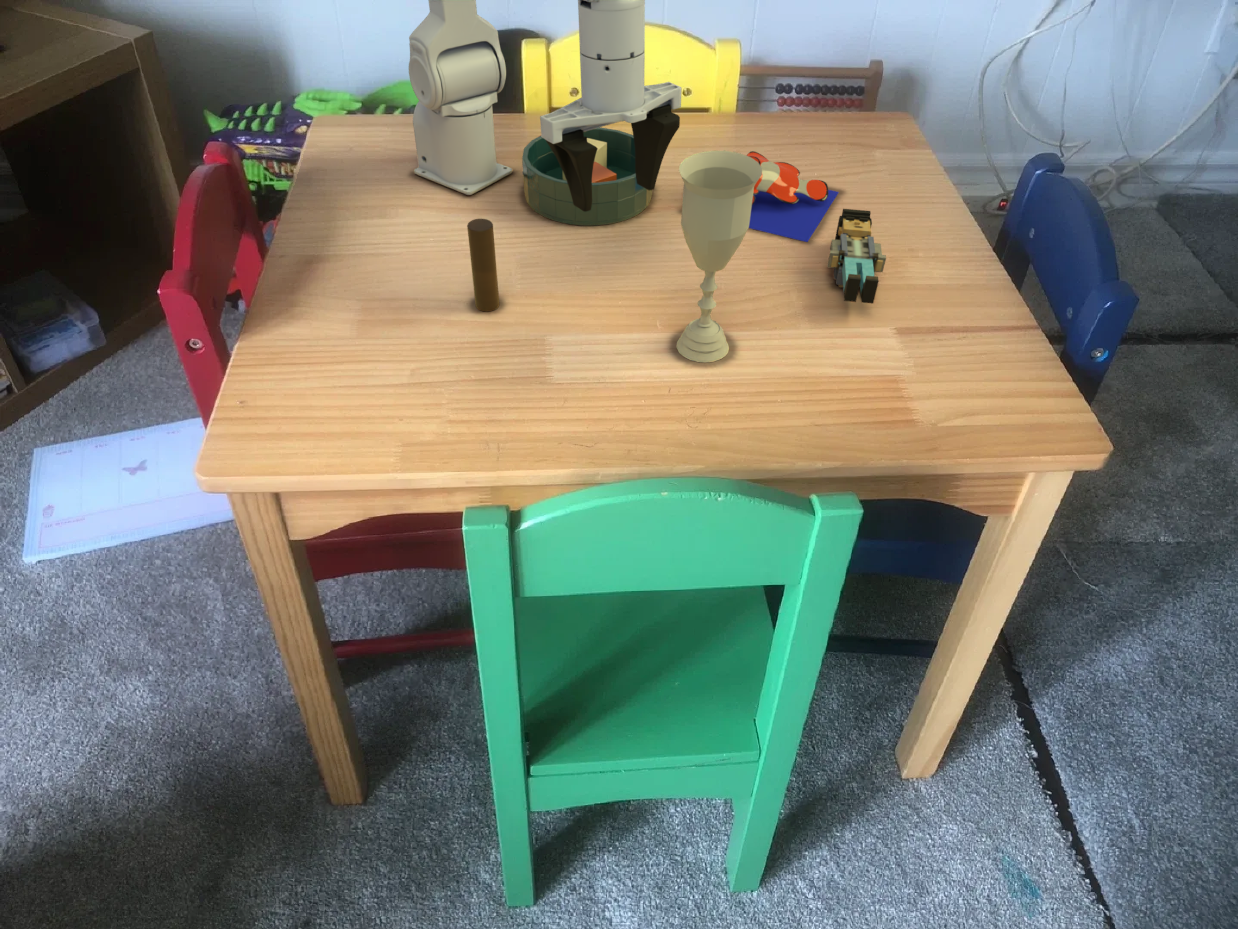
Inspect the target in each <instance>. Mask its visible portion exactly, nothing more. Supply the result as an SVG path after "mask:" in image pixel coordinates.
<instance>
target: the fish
mask: <svg viewBox="0 0 1238 929" xmlns="http://www.w3.org/2000/svg"><path fill="white" fill-rule="evenodd" d="M745 155H746V156H749V157H751V158H752V159H754V160H755V161H757V162H758V163H759V165H760V166H761V168H762V175H761V177H760V178H759V180H758V181H757V183H756V184H755V186H754V191H753V195H758V194H759V193H765V194H769V195H771V196H773V197H774V198H776V199H777V200H779V201H780V202H782V203H784V204H788V205H795V204H797V203H798V202H799V200H800V199H799V197H798V196H797V195H795V194H802V195H804V196H806V197H808V198H810V199H812V200H814V201H817V202H825V201H826V200H827V199H828V197H829V190H830V189H829V185H828V183H827V182H825V181H824V180H821V179H801V178H799V176H800V174H801V172H800V170H799V168H797V167H796V166H795V165H792V164H791V163H789V162H785V161H771V160H769V159H768V158H767V157H765V156H764V155H762V154H761V153H759V152H758V151H754V150H752V151H751V150H750V151H749V152H748V153H747V154H745ZM755 202H756V197H755V196H753V199H752V205H754V204H755Z"/></svg>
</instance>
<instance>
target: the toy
mask: <svg viewBox="0 0 1238 929" xmlns="http://www.w3.org/2000/svg"><path fill="white" fill-rule="evenodd" d="M872 226H873V221H872V218H871V210H865V209H864V210H862V209H851V208H843V209H842V212H841V215H839V217H838V222H837V228H836V231H835V237H834V238H832V239H831V242H830V248H829V256H828V261H827V268H831V269H833V280H835V282H836V283H835V284H836V286H837V285H838V288H842V289H843V290H842V292H843V301H844V302H854V303H856V302H857V298H858V294H859V293H860V302H861V303H865V304H874V302H875V298H876V293H877V289H878V286H879V276H875V274H876V273H884V269H885V264H886V260H887V255H886V254H883V250H882V243H880V242H879V243H878V242H875V237H874V236H872ZM859 290H860V292H859Z"/></svg>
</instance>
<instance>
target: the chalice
mask: <svg viewBox="0 0 1238 929" xmlns="http://www.w3.org/2000/svg"><path fill="white" fill-rule="evenodd" d="M746 155H747V154H743V153H741V152H735V151H730V150H707V151H700V152H697V153H694V154H691V155H690V156H687V157H686V158H684V159H683V160H682V161H681V163H679V167H678V173H679V174H680V177H681V179H682V182H683V191H682V204H681V218H680V220H681V221H680V225H681V228H682V232H683V236H684V239H685V243H686V245H687V247H688V250H689V252H690V255H691V256H692V258H693V261H694V263H695V266H696V267H697V268H698V269H699V270H701V271H703V272H704V277H703V281H702V282H701V283H700V285H699V288H700V289H701V291H702V297H701V298H700V299H699V300H698V301H697V307H699V308H700V317H699V318H696V319H693V320H691V321H690V322H689V323H688V324H686V326H685V328H684V330H683V331H682V333H681V334H680V337H679V338H678V340H677V341H676V349H677V351H678V353H679V354H680V355H681V356H682V357H683V358H685V359H688V360H690V361H692V362H697V363H714V362H716V361H720V360H722V359H723V358H724V357H726V356H727V355H728V353H729V351H730V350H729V349H730V346H729V343H728V342H727V337H726V335H725V333H724V332H725V331H724V329H723V327H722V326H721V325H720V324H719V322H717V321H716V320H713V318H712V316H711V314H712V312H713V309H715V308H716V307H717V302H716V301H715V300H714V293H715V291H716V290H717V289H718V284H717V283H716V277H715V275H716V273H717V272H720V271H722V270H724V269H725V268H726V267H727V265H728V264H729V263H730V261H731V259H732V258H733V256H734V255H735V253H736V251H738V249H739V248H740V246H741V244H742V242H743V240H744V239H745V238H744V237H745V236H746V234H747V232H748V230H749V229H750V228H749V222H750V215H751V207H752V199H753V191H754V186H755V184H756V183H757V181H758V180H759V178H760V177H761V175H762V168H761V166H760V165H759V163H758V162H757V161H755V160H754V159H752V158H751V157H749V156H746Z"/></svg>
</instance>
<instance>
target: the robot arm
mask: <svg viewBox="0 0 1238 929" xmlns="http://www.w3.org/2000/svg"><path fill="white" fill-rule="evenodd" d="M477 8H478V6H477V0H428V9H429V13H428V14H427V15H426V17H425V18H424V19H423V20H422V21H421V22H420V23H419V24H418V25H417V27H416V28H415V29H414V30H413V31H412V32H411V33H410V35H409V37H408V40H409V43H408V44H409V62H408V76H409V81H410V82H409V83H410V84H411V88H412V91H413V93H414V96H415V97H416V98H417V100H418V101H417V103H416V105H415V107H414V110H413V115H412V128H413V134H414V142H415V149H416V150H415V151H416V155H417V156H416V157H417V164H418V167H415V168H414V170H413V173H414V174H415V175H417V176H420V177H421V178H425V179H426V180H429V181H432V182H433V183H437V184H439V185H442V186H443V187H447V188H449V189H452V190H453V191H457V192H459V193H462V194H464V195H467V196H471V195H473V194H475V193H477V192H479V191H481V190H483V189H485V188H487V187H489V186H491V185H492V184H494V183H496V182H498V181H500V180H501V179H504V178H506V177H507V176H509V175H511V174H512V173H513V168H512V167H510V166H507V165H504V164H501V163H498V161H497V150H496V138H495V135H496V134H495V125H494V112H493V109H494V108H493V104H496V103H498V94H499V93H501V92H502V91H503V89H504V87H505V83H506V78H507V67H506V66H507V65H506V62H505V57H504V54H503V52H502V49H501V45H500V38H499V32H498V30H497V28H496V27H495V26H494V25H493V24H492V23H490V21H488V20H487V19H485V18H484V17H482V16H480V15H479V14H478V9H477ZM577 12H578V13H577V14H578V41H579V64H580V66H579V67H580V92H581V93H580V94H581V97H580V98H578V99H575V100H574V101H572V102H570V103H568V104H566V105H564V106H561V107H559V108H558V109H556V110H554V111H552V112H550V113H545V114H543V115H540V116H539V120H540V136H541V137H542V138H544V139H545V140H546V142H547V143H548V145H549V146H550V148H551V149H552V151H553V153H554V154H555V156H556V158H557V160H558V162H559V164H560V166H561V168H562V170H563V172H564V175H565V178H566V180H567V183H568V186H569V189H570V193H571V196H572V200H573V204H574V205H575V206H576V207H578V208H579V209H581V210H582V211H584V212H586V211H589V210H591V206H592V172H593V165H594V160H595V156H596V152H597V149H598V148H597V147H596V146H594V145H592V144H590V143H588V142H587V137H584V132H585V131H589V130H592V129H596V128H599V127H601V128H604V127H606V126H609V125H610V126H611V125H614V124H617V123H621V122H622V123H623V122H625V123H628V124H630V126H631V131H632V135H633V137H634V145H635V173H636V180H637V184H638V185H640V186H642V187H644V188H645V189H647V190H649V191H650V190H652V191H653V190H655V187H656V184H657V181H658V176H659V173H660V169H661V167H662V166H661V165H662V162H663V160H664V157H665V155H666V152H667V149H668V147H669V145H670V144H671V141H672V140H673V138H674V136H675V134H676V133H677V131H678V130H679V129H680V126H681V125H680V124H681V118H680V115H678V114H676V113H674V112H672V111H673V110H677V109H681V108H682V86H680V85H677V84H675V83H672V81H671V82H670V81H666V82H662V83H656V84H648V85H645V67H646V66H645V64H646V63H645V60H646V58H645V57H646V56H645V54H646V53H645V52H646V51H645V48H646V39H645V38H646V0H577Z"/></svg>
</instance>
